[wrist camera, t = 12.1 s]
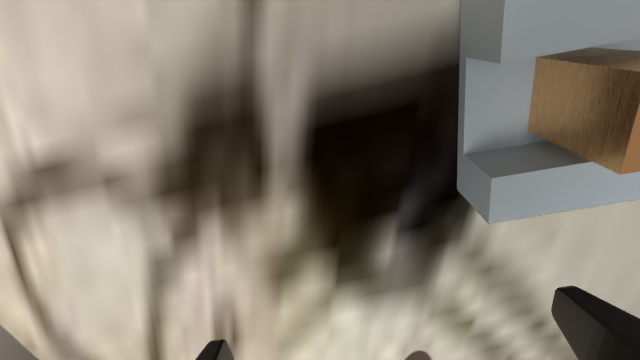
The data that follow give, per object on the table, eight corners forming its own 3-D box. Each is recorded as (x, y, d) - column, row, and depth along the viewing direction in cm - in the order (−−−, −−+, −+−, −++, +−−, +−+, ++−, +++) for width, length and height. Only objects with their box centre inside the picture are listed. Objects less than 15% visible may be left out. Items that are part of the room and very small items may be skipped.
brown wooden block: (577, 121, 18) (691, 163, 13) (527, 130, 18) (620, 174, 13) (591, 47, 16) (731, 57, 11) (536, 57, 16) (647, 72, 11)
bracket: (614, 162, 20) (680, 192, 17) (456, 189, 21) (488, 223, 17) (667, -43, 15) (776, -64, 12) (460, -3, 16) (505, -11, 12)
